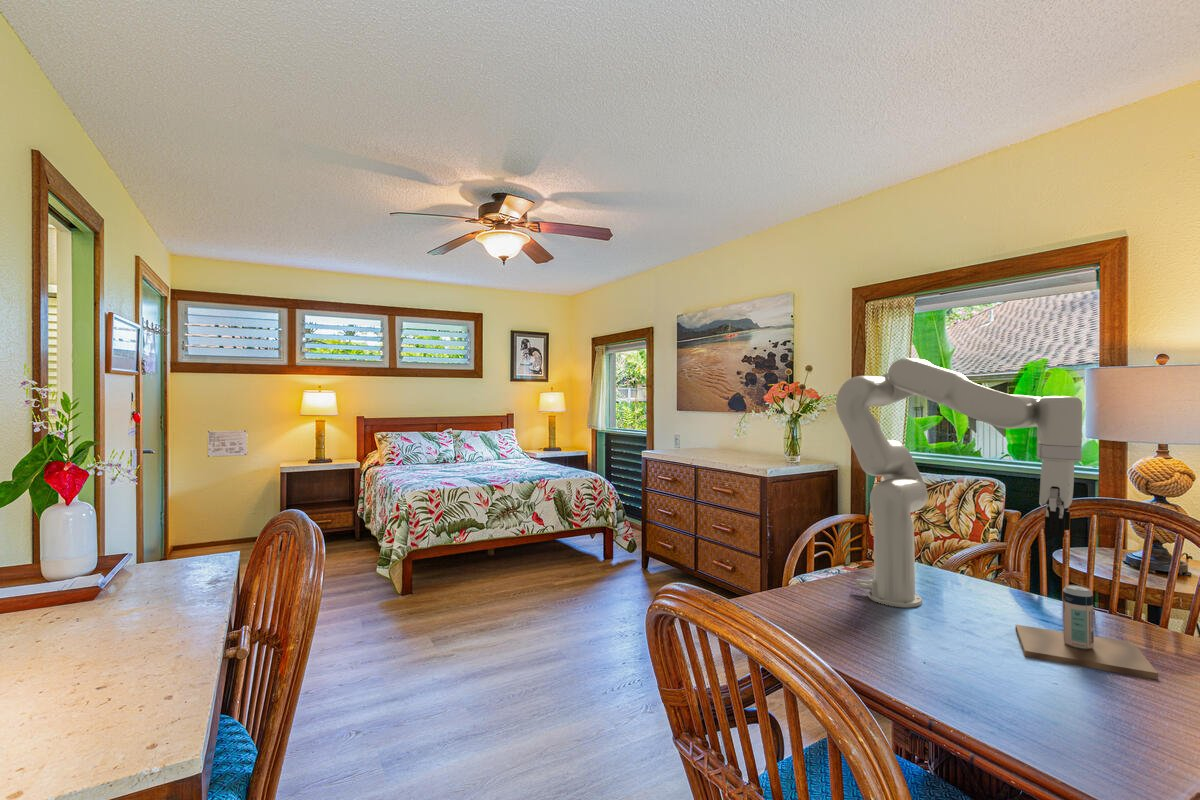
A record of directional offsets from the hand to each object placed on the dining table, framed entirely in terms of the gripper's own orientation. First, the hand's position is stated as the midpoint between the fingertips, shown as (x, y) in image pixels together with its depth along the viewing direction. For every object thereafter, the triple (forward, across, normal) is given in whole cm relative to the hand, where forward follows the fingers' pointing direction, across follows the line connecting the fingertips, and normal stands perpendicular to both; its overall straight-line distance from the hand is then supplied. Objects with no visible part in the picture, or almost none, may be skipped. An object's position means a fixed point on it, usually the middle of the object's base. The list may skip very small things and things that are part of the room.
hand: (1057, 532), depth 124 cm
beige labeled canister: (+22, +4, +4) cm, 23 cm away
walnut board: (+23, +4, +4) cm, 24 cm away
